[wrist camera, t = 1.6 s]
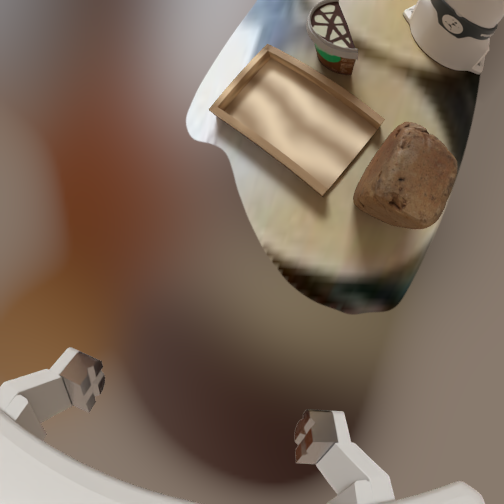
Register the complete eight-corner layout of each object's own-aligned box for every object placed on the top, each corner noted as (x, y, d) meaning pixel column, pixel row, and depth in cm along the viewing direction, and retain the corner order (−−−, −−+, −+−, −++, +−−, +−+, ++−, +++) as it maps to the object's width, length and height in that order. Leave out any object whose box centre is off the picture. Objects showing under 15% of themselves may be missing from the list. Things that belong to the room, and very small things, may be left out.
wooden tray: (271, 53, 39) (267, 43, 36) (380, 125, 37) (384, 119, 34) (216, 116, 43) (208, 109, 40) (322, 196, 41) (322, 195, 38)
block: (386, 227, 39) (434, 241, 20) (345, 203, 41) (366, 196, 21) (415, 169, 37) (475, 142, 18) (375, 144, 38) (412, 96, 19)
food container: (304, 31, 37) (298, -2, 27) (337, 28, 35) (337, -5, 26) (317, 84, 39) (314, 54, 29) (353, 82, 37) (358, 52, 27)
